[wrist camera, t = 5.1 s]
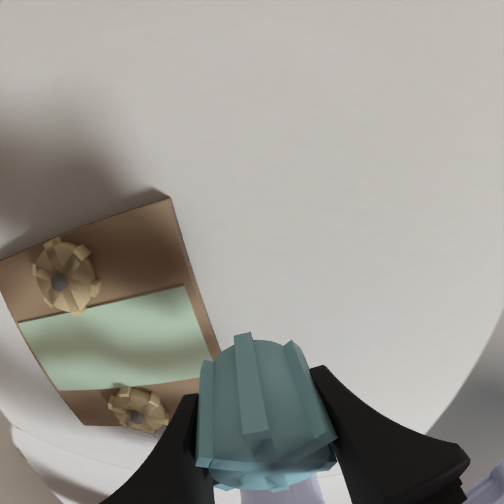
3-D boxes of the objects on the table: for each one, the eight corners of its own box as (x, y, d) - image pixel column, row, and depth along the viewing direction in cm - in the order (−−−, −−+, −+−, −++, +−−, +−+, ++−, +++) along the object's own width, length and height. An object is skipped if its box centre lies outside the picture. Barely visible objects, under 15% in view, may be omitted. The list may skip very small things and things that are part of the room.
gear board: (241, 402, 21) (243, 427, 19) (87, 417, 21) (79, 436, 18) (170, 197, 16) (160, 204, 13) (-1, 261, 16) (-22, 273, 13)
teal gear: (308, 396, 13) (337, 476, 8) (220, 415, 13) (224, 499, 8) (296, 320, 11) (337, 411, 6) (189, 344, 11) (176, 442, 6)
